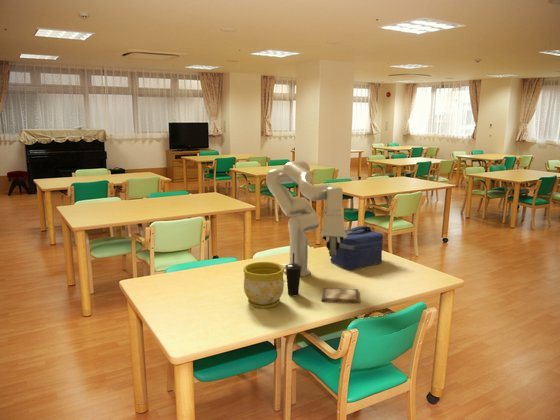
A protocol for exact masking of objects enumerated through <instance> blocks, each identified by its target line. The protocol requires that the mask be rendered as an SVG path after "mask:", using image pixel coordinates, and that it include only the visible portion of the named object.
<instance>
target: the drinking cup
mask: <svg viewBox="0 0 560 420" xmlns="http://www.w3.org/2000/svg"><path fill="white" fill-rule="evenodd" d="M287 264H288V265H287ZM287 264H285V265H286V266H285V268H286V269H285V273H286V275H285V276H286V286H287V287H286V288H287V294H288V296H290V295H291V296H290V297H296V296H298V295H299V292H300V281H301V276H300V273H301V268H302V266H301V265H299V264H296V263H294V253H293V263H291V264H289V263H287Z"/></svg>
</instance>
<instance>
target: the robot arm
mask: <svg viewBox="0 0 560 420" xmlns="http://www.w3.org/2000/svg"><path fill="white" fill-rule="evenodd" d="M310 167H311V166H310V165H309V164H308V163H307V161H304V160H295V161H292V160H291V161H287V163H285V164H284V165H283V167H281V168H273V169H271V170H269V171H268V172H267V173H266V176H265V182H266V187H267V188H268V190H269V192H270V193H271V195H272V196H273V197H274V199H275V200H276V201H277V204H278V206H279V208H281V211H282V212H283V214H284V215H285V217H286V216H287V217H290V218H289V219H288V222H287V226H288V227H287V228H288V232H289V263H287V264H285V263H282V264H281V265H282V266H283V267H284V270H286V268H285V266H286V265H288V264H291V263H293V253H294V263H296V264H299V265H301V266H302V268H301V273H300V277H306V276H308V275H310V274H311V269H309V267H308V263H309V261H308V258H309V257H308V256H309V254H308V253H309V252H308V251H309V250H308V248H309V247H308V246H309V243H308V238H307V236H306V234H305V233H308V232H311V231H315V230H317V229H318V228H319V227H320V219H319V215H318V214H317V213H316V211H315V209H314V207H313V206H312V204H311V203H310V201H312V202H319V201H325V202H326V203H325V209H322V213H325V215H324V216H323V220H322V229H321V231H320V233H319V234H318V236H319V237H321V238H322V239H323V240H324V241H325V242H326V244H325V245H326V249H327V251H329V237H337V244H336V250H337V251H338V248H339V243H340V241H342V240H343V239H344V238H346V237H347V234H346V232H345V220H344V215H343V187H342V186H334V185H332V184H329V183H326V184H325V183H323V184H315V185H314V184H312V183H311V182H312V180H313V175H312V173H311V171H310V169H311V168H310ZM293 183H295V184H297V186H298V189H299V192H300V193H301V195H302V196H303V197H302V196H299V197H294V196H293V195H292V194H291V192H290V190H289V189H288V188H287V187H286V186H284V184H293ZM282 184H283V185H282ZM309 200H310V201H309Z"/></svg>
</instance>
